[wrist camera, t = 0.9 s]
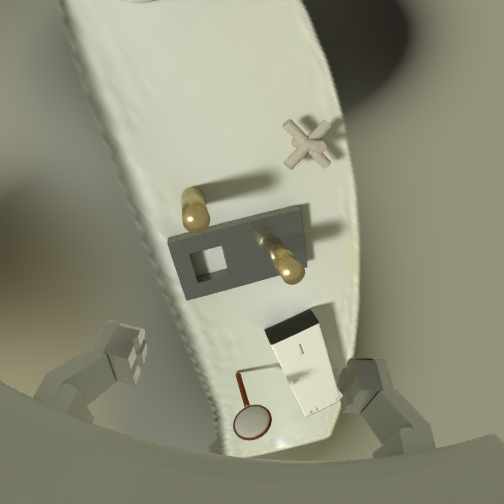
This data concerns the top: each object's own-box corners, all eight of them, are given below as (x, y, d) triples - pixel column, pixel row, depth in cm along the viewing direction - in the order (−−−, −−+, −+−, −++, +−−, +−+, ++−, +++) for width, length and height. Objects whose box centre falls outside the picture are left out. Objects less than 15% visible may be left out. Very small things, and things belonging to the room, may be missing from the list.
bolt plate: (186, 293, 58) (189, 335, 46) (167, 237, 52) (165, 271, 41) (302, 261, 61) (330, 294, 49) (295, 205, 55) (326, 228, 44)
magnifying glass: (223, 380, 70) (240, 447, 52) (220, 377, 69) (236, 444, 51) (254, 366, 70) (278, 431, 52) (251, 362, 69) (274, 428, 51)
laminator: (262, 327, 66) (270, 344, 60) (312, 304, 66) (324, 319, 61) (298, 401, 81) (305, 417, 76) (335, 384, 82) (344, 398, 77)
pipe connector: (331, 142, 52) (360, 147, 43) (296, 180, 54) (320, 192, 45) (295, 103, 48) (320, 100, 39) (257, 143, 49) (275, 147, 40)
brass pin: (186, 184, 49) (188, 203, 38) (205, 191, 51) (214, 212, 39) (178, 203, 50) (178, 228, 39) (197, 210, 52) (204, 236, 40)
